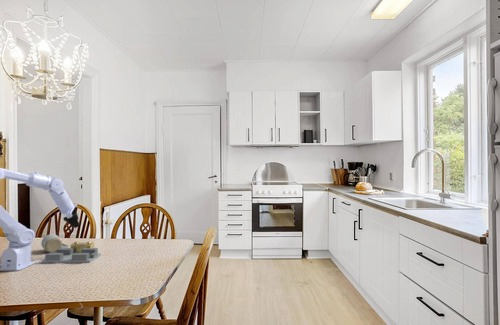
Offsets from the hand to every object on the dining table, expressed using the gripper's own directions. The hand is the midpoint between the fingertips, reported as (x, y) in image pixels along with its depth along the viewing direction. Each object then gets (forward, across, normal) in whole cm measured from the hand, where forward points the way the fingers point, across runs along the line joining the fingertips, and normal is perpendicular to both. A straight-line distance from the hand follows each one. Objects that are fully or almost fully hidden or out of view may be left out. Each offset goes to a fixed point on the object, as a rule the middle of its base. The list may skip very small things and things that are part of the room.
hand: (76, 223), depth 135 cm
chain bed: (+8, -15, +6) cm, 18 cm away
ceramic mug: (+10, +4, +14) cm, 18 cm away
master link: (+12, -9, +3) cm, 15 cm away
